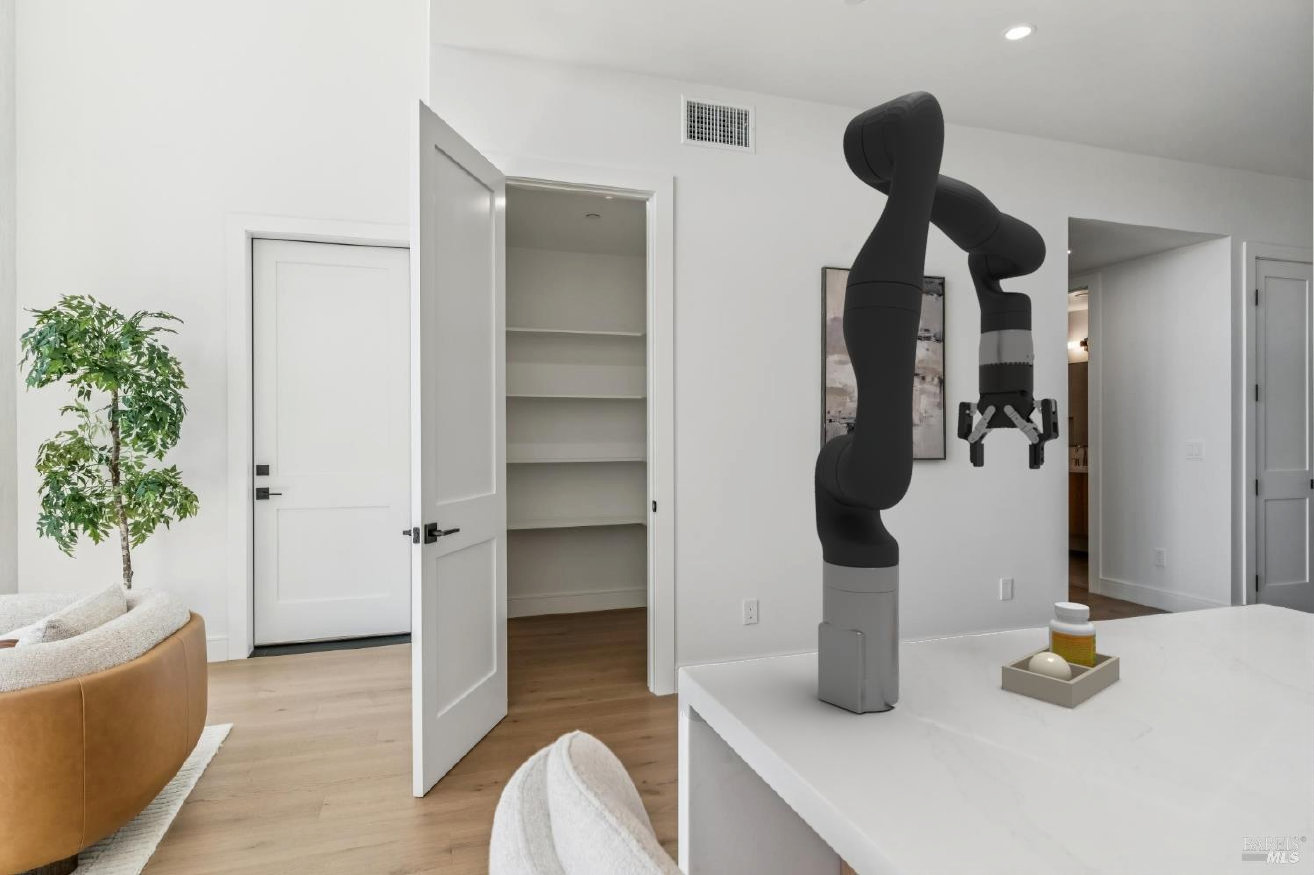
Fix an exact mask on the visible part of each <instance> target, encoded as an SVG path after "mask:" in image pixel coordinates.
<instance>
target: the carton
mask: <svg viewBox="0 0 1314 875" xmlns="http://www.w3.org/2000/svg"><path fill="white" fill-rule="evenodd" d="M1042 652H1049V644H1048V645H1046V646H1043V647H1041V648H1039V649H1037V650H1034V651H1032V652H1030V653H1027V654H1025V655H1023V656H1021V657H1019V658H1017V659H1014V660H1012V661H1009V662H1007V663H1006V664H1003V665H1001V689H1002V690H1005V691H1008V692H1011V693H1014V694H1019V695H1022V696H1025V697H1029V698H1031V699H1034V700H1035V699H1036V700H1039V701H1043V702H1047V703H1048V704H1049V703H1050V704H1052V705H1056V706H1060V707H1065V708H1067V709H1071V710H1073V709H1075V708H1076V707H1077V706H1079V705H1080V704H1083V703H1084V702H1085V701H1087V700H1089V699H1090V698H1092V697H1093V696H1095V695H1097V694H1098V693H1100V692H1101V691H1103V690H1104V689H1106V688H1108V687H1110V686H1112V685H1113V684H1115V683H1117V682H1118V681H1120V664H1121V662H1120V657H1119V656H1117V655H1116V656H1115V655H1110V654H1105V653H1102V652H1101V653H1100V652H1097V651H1096V667H1094V668H1090V667H1085V666H1081V665H1077V664H1073V663H1068V662H1067V663H1068V664H1069V666H1070V669H1071V673H1072V676H1071V681H1069V682H1068V681H1064V680H1060V679H1056V678H1053V677H1049V676H1045V675H1041V674H1037V673H1033V672H1029V671H1028V666H1029V662H1030V660H1031V659H1032V658H1033V657H1034V656H1035V655H1037V654H1039V653H1042Z"/></svg>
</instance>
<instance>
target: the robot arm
mask: <svg viewBox="0 0 1314 875" xmlns="http://www.w3.org/2000/svg"><path fill="white" fill-rule="evenodd" d="M842 140H843V141H842V149H843V154H844V158H845V162H846V163H847V165H848V167H849V169H850V172H852V173H853V174H854V175H855V177H856V178H857V179H859V180H860V181H861V182H863V183H864V184H866V185H868V187H871V188H872V189H874V190H876V191H878V192H879V193H882V194H883V195H885V196H887V200H886V202H885V206H884V208H883V210H882V213H881V215H880V216H879V219H878V220H877V222H876V224H875V225H874V227H873V229H872V230H871V232H870V234H869V235H868V237H867V238H866V240H865V242H864V244H862V247H861V248H860V251H859V252H858V253H857V255H856V257H855V259H854V261H853V264H852V265H851V268H850V270H849V272H848V275H847V279H846V286H845V292H844V302H843V313H842V334H843V339H844V343H845V347H846V351H847V354H848V356H849V360H850V363H851V366H852V370H853V373H854V376H855V381H856V383H855V384H856V387H857V388H856V390H857V395H856V396H857V399H856V412H855V420H854V427H853V433H850V434H849V433H847V434H840V435H837V436H834V437H832V438H830V439H828V441H826V442H825V443H824V444H823V446H822V447H821V449H820V451H819V453H818V456H817V459H816V462H815V467H814V468H815V469H814V502H815V504H814V506H815V525H816V533H817V536H818V539H819V541H820V545H821V548H822V622H819V623H818V627H817V632H818V633H817V634H818V635H817V640H818V641H817V643H818V644H817V646H818V648H817V653H818V654H817V661H818V662H817V667H818V669H817V677H818V678H817V687H818V688H817V692H818V693H817V694H818V695H817V697H818V699H819V700H822V701H824V702H827V703H829V704H833V705H835V706H837V707H840V708H843V709H845V710H848V711H851V712H854V713H856V714H857V713H858V714H861V713H864V712H865V713H866V712H881V711H887V710H891V709H893V708H895V706H893V705H895V704H897V703H898V702H899V700H900V546H899V545H900V544H899V543H898V541H897V539H896V538H895V537H894V536H893V535H892V534H891V533H890V532H889V531H888V530H887V528H886V527H885V525H884V523H883V520H882V517H881V511H885V510H888V509H891V508H894V507H895V506H896V505H898V504H899V503H900V502H901V501H902V500H903V498H904V497H905V496H906V494H907V492H908V489H909V487H910V484H911V481H912V477H913V468H914V422H913V421H914V420H913V419H914V416H913V414H914V412H913V410H914V409H913V408H914V404H913V402H914V386H915V383H914V382H915V375H916V374H915V373H916V360H917V349H918V337H919V329H920V322H921V314H922V303H923V295H924V293H923V292H924V279H925V267H926V266H925V264H926V263H925V262H926V257H927V256H926V255H927V248H928V247H927V246H928V236H929V230H930V223H931V224H932V225H934V226H935V227H936V228H938V229H939V230H940V231H941V232H942V233H943V234H944V235H945V236H947V238H949V239H950V240H951V241H952V242H953V243H954V244H955V245H956V246H958V248H960V249H961V250H962V251H964V252H965V253H968V256H967V267H968V270H969V271H968V272H969V274H970V277H971V280H972V283H973V285H974V289H975V293H976V296H977V300H978V304H979V309H980V310H979V311H980V326H979V327H980V328H979V329H980V332H979V333H980V336H979V337H980V339H979V345H978V393H979V399H978V401H977V402H972V401H960V402H959V404H958V418H957V431H956V432H957V435H956V436H957V438H958V439H962V440H964V441H967V442H968V443H969V461H970V462H969V463H970V464H972V466H973V467H974V468H981V467H984V465H985V443H983V441H984V440H985V438H986V437H987V436H988V435H989V434H990V433H991V432H993V430H994V429H1019V431H1020V432H1022V433H1023V434H1024V435H1025V436H1026V438H1027V439H1028V440H1029V441H1030V443H1029V444H1028V468H1029V469H1030V470H1040V469H1041V466H1043V465H1044V463H1045V445H1046V443H1047V442H1049V441H1053V440H1056V439H1058V438H1059V436H1060V433H1059V432H1060V430H1059V418H1058V417H1059V415H1058V402H1057V400H1056V399H1054V398H1048V397H1047V398H1043V399H1039V400H1035V398H1034V390H1035V389H1034V387H1035V384H1034V381H1035V380H1034V370H1035V369H1034V364H1035V363H1034V360H1035V353H1034V341H1033V335H1032V332H1033V331H1032V328H1033V326H1032V320H1033V319H1032V300H1031V297H1030V295H1028V294H1027V293H1023V292H1017V291H1016V292H1015V291H1004V290H1003V288H1002V286H1001V283H1000V282H1001V280H1007V279H1012V278H1019V277H1024V276H1029V275H1031V274H1034V273H1035V272H1036V271H1037V270H1039V269H1040V268H1041V267H1042V265H1043V264H1044V262H1045V259H1046V256H1047V255H1046V254H1047V248H1046V244H1045V240H1044V238H1043V236H1042V235H1041V233H1040V232H1039V231H1038V230H1037V229H1036V228H1035V227H1033V226H1032V225H1030V224H1029V223H1027V222H1025V221H1023V220H1021V219H1019V218H1016V217H1014V216H1012V215H1011V214H1008V213H1004V212H1002V211H1000V209H999V208H998V207H997V206H996V205H995V204H994V203H993V202H992V201H991V200H990V199H989V197H987V196H986V195H985V194H984V193H983V192H982V191H981V190H980V189H978V188H976V187H975V186H973V185H971V184H969V183H967V182H965V181H962V180H960V179H957V178H954V177H951V176H947V175H944V174H941V173H940V170H941V167H942V166H941V164H942V159H943V154H944V145H945V121H944V114H943V109H942V108H941V104H940V103H939V101H938V99H937V98H936V97H935V95H934V94H932V93H930V92H928V91H925V90H918V91H913V92H910V93H909V92H908V93H906V94H903V95H900V96H898V97H896V98H893V99H891V100H889V101H886V102H884V103H882V104H880V105H877V106H874V107H871V108H869V109H867V110H865V111H863V112H860V113H859V114H857V115H856V116H854V117H853V118H852V119H851V120H850V121H849V123H848V124H847V126H846V127H845V131H844V134H843V139H842ZM1036 409H1037V413H1039V414H1041V423H1042V426H1041V427H1042V431H1041V430H1040V429H1039V426H1038V424H1037V423H1036V421H1034V419H1033V418H1032V417H1031V415H1032V414H1033V412H1034V411H1035V410H1036ZM977 412H978V413H979V414H980V415H981V417H980V419H979V420H978V422H977V423H976V425H975V426H973V425H974V416H975V415H976V414H977ZM973 427H974V430H973Z"/></svg>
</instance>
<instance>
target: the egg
mask: <svg viewBox="0 0 1314 875" xmlns="http://www.w3.org/2000/svg"><path fill="white" fill-rule="evenodd" d="M1028 671H1029V672H1033V673H1037V674H1041V675H1045V676H1049V677H1053V678H1056V679H1060V680H1064V681H1068V682H1069V681H1071V676H1072V673H1071V669H1070V666H1069V664H1068V663H1067V662H1066V661H1065V659H1063V658H1062V657H1061V656H1059V655H1057V654H1055V653H1051V652H1042V653H1039V654H1037V655H1035V656H1034V657H1033V658H1032V659H1031V660H1030V662H1029V666H1028Z"/></svg>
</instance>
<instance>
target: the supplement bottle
mask: <svg viewBox="0 0 1314 875" xmlns="http://www.w3.org/2000/svg"><path fill="white" fill-rule="evenodd" d="M1054 615H1055V616H1056V617H1055V618H1053V619H1051V620H1050V621H1049V624H1048V645H1049V652H1051V653H1055V654H1057V655H1059V656H1061V657H1062V658H1063V659H1065V661H1066V662H1068V663H1073V664H1077V665H1081V666H1085V667H1090V668H1094V667H1096V652H1097V650H1096V649H1097V642H1096V641H1097V639H1096V637H1097V631H1096V630H1097V629H1096V626H1094V624H1092V623H1091V622H1090V621H1089V620H1088V619H1090V616H1091V615H1090V607H1089V606H1087V605H1085V604H1081V603H1078V602H1068V601H1066V602H1065V601H1060V602H1059V601H1058V602H1055V603H1054Z"/></svg>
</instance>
